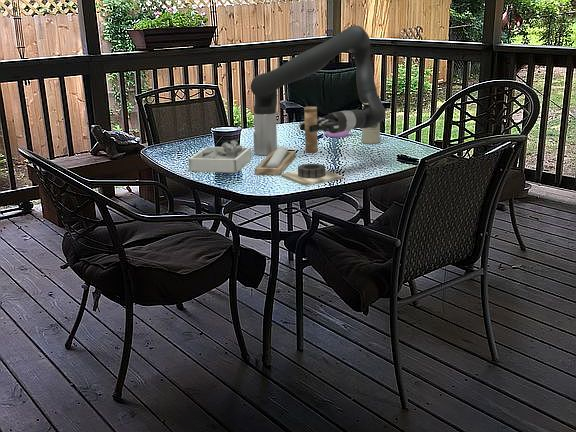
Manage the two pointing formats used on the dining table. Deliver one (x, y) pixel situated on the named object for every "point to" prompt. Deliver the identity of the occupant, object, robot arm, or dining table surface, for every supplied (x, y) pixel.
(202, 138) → the dining table surface
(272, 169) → the tube rest
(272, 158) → the tube
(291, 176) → the collar board
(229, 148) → the coral
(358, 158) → the dining table surface
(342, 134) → the teapot
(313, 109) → the dowel
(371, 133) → the travel mug
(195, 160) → the coral tray
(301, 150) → the dining table surface
